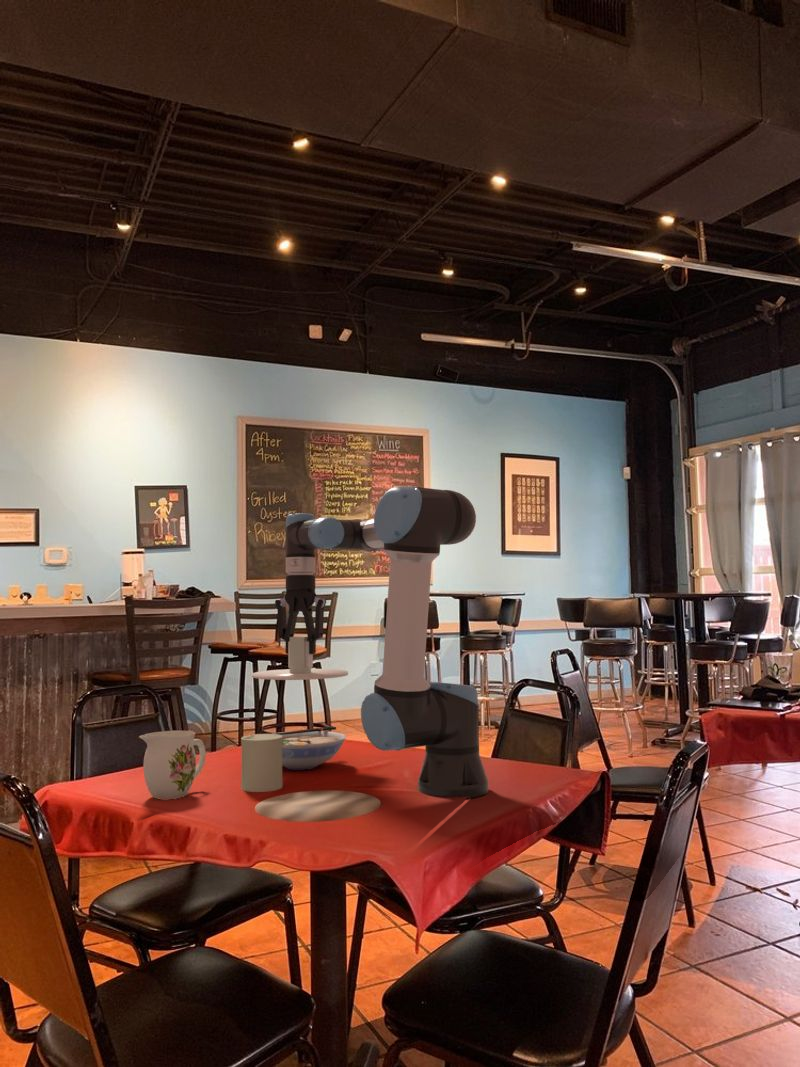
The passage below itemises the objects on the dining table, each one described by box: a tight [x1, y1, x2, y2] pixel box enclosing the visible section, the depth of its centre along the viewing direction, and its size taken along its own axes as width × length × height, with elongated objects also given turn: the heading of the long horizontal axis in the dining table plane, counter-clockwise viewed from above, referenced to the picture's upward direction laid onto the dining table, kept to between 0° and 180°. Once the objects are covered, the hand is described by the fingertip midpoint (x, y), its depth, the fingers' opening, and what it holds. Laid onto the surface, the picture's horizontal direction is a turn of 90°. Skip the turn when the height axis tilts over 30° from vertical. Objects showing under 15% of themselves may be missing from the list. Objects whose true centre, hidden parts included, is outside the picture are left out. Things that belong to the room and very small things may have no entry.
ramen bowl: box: [272, 725, 347, 771], centre depth 202 cm, size 25×23×8 cm
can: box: [240, 733, 283, 793], centre depth 178 cm, size 9×9×12 cm
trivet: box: [254, 790, 382, 823], centre depth 161 cm, size 25×25×1 cm
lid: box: [251, 635, 349, 681], centre depth 203 cm, size 24×24×10 cm
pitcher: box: [138, 730, 207, 800], centre depth 174 cm, size 11×18×14 cm, turn 148°
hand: (300, 667), depth 202 cm, fingers closed on lid, 4 cm apart
